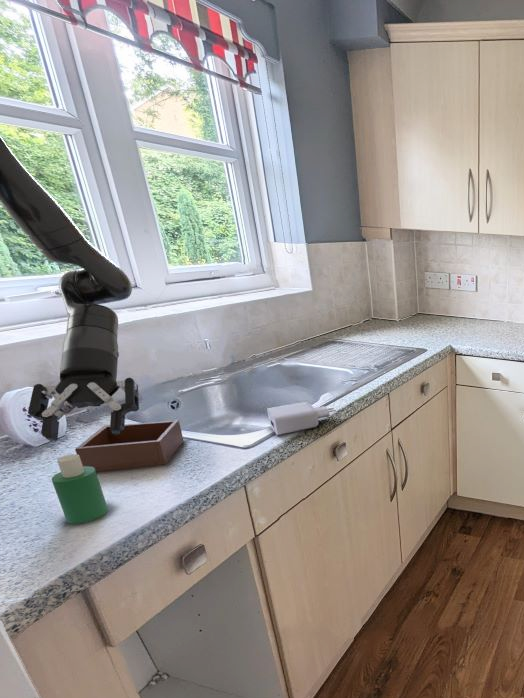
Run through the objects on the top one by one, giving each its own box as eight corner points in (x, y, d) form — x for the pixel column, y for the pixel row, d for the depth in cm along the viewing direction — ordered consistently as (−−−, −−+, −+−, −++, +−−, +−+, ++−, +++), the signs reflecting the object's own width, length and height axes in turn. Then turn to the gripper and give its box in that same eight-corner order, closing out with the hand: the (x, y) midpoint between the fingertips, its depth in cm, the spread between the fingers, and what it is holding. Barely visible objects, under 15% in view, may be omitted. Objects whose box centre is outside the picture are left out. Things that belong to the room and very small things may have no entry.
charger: (341, 423, 118) (277, 436, 109) (330, 412, 125) (269, 424, 116) (339, 406, 116) (274, 418, 107) (328, 396, 123) (266, 407, 114)
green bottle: (59, 526, 74) (37, 467, 70) (76, 508, 79) (56, 452, 75) (99, 521, 76) (80, 462, 72) (113, 504, 81) (96, 448, 77)
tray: (82, 472, 90) (74, 449, 88) (110, 447, 100) (103, 425, 98) (165, 464, 94) (159, 441, 93) (183, 441, 105) (178, 420, 103)
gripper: (26, 348, 79) (14, 434, 73) (130, 343, 85) (126, 422, 79) (51, 369, 85) (41, 449, 79) (146, 363, 91) (143, 438, 85)
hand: (83, 436), depth 79 cm, fingers open, 8 cm apart
